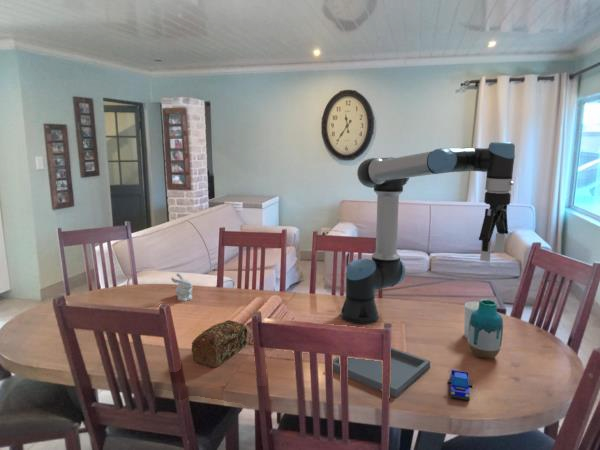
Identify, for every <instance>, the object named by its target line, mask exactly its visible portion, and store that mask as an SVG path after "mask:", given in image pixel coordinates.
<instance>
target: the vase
mask: <svg viewBox="0 0 600 450" xmlns="http://www.w3.org/2000/svg"><path fill="white" fill-rule="evenodd" d="M478 302H479V307H478V310H475V311H473V312H472V314H471V317H470V322H469V330H468V338H467V344H468V348H469V350H470V351H471V353H472V354H473V355H475V356H477V357H479V358H483V359H491V358H492V359H493V358H495V357H496V356H498V355H499V353H500V351H501V347H502V342H503V341H502V340H503V333H504V319H503V317H502V315H501V314H500V313H499V312H498V311H497V309H498V308H497V306H498V305H497V302H496V301H494V300H492V299H480V300H479V301H478Z"/></svg>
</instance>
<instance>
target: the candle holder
mask: <svg viewBox="0 0 600 450" xmlns="http://www.w3.org/2000/svg"><path fill="white" fill-rule="evenodd" d="M478 307H479V301H467V302H466V303H464V321H463V322H464V324H463V325H464V326H463V328H464V329H463V330H464V331H463V332H464V333H463V334H464V337H465V338H466V339H468V330H469V322H470V317H471V314H472V312H473V311H475V310H478Z"/></svg>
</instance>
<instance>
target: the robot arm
mask: <svg viewBox="0 0 600 450" xmlns="http://www.w3.org/2000/svg"><path fill="white" fill-rule="evenodd" d="M515 147H516V146H515V143H513V142H511V141H510V142H509V141H507V142H505V141H503V142H500V141H497V142H496V141H492V142H491V141H490V142H489V145H488V147H487V148H484V147H483V148H481V147H479V148H478V147H457V148H455V147H454V148H452V147H451V148H449V147H442V148H441V147H440V148H436V149H434V150H431V151H426V152H420V153H415V154H411V155H410V154H409V155H404V156H399V157H393V156H391V157H378V158H377V157H376V158H375V157H372V158H371V157H370V158H367V159H364V160H363V161H362V162H361V163H360V164H359V165H358V167H357V173H356V175H357V178H358V181H359V183H360V184H362V185H363V186H365V187H367V188H373V192H374V193H375V194H376V195H377V198H376V199H377V200H376V202H377V203H376V234H375V235H376V238H375V251H374V252H373V253H372V255H371V259H370V258H369V259H368V258H363V259H360V258H359V259H355V260H352V261H350V262H349V263H348V264H347V266H346V272H345V279H346V280H345V300H344V302H343V306H342V308H341V312H340V316H341V319H342V320H344V321H345V322H348V323H350V324H351V323H352V324H355V325H368V324H367V323H369V324H372V323H375V322H377V321H378V320H379V311H378V308H377V307H378V306H377V304H376V301H375V299H376V298H375V296H376V295H375V294H376V292H375V291H377V290H382V289H387V288H392V287H394V286H397V285H399V284H401V283H402V282H403V280H404V278H405V275H406V266H405V264H404V261H403V260H402V259H401V255H399V253H398V250H397V249H398V247H397V246H398V225H399V224H398V223H399V199H400V195H401V194H403V192H404V186H405V185H406V184H407V182H409V180H410V178H416V177H422V176H430V175H431V176H432V175H438V174H439V175H440V174H446V173H460V172H461V173H462V172H482V173H483V172H484V173H486V178H485V187H484V188H485V189H484V190H485V192H484V198H483V199H484V200H483V202H484V204H486V205H489V208H485V209H484V211H485V212H484V217H483V222H482V224H481V225H482V226H481V230H480V234H479V237H478V241H481V248H480V259H479V260H480V262H481V261H482V262H486V263H487V262H488V263H490V261H491V251H492V237H493V234H494V230H495V229H496V232H497V233H496V232H495V241H494V251H493V253H496V254H502V255H503V254H504V252H505V250H504V249H505V242H506V241H505V239H506V235H508V234H509V228H508V226H509V225H508V212H507V211H508V210H507V209H508V206H509V205H510V204H511V199H512V194H511V191H512V186H513V185H514V182H513V172H514V164H515V158H516V155H515V153H516V152H515V149H516V148H515Z"/></svg>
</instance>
